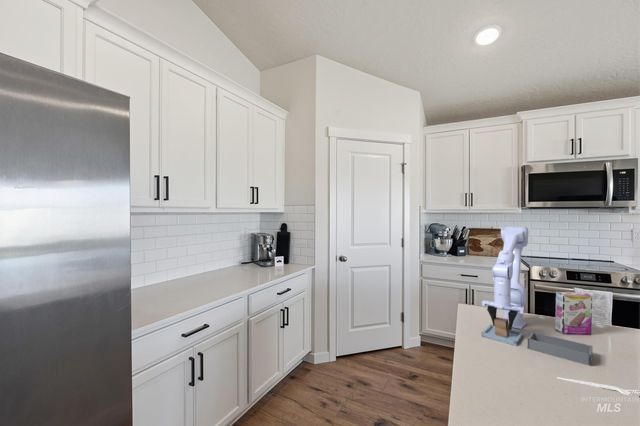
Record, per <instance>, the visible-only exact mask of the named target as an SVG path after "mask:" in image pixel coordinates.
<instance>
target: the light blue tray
mask: <svg viewBox="0 0 640 426" xmlns="http://www.w3.org/2000/svg"><path fill="white" fill-rule="evenodd" d="M481 337H484V338H486V339H490V340H494V341H497V342H501V343H505V344H509V345H512V346H515V347H517V346H518V345H519V343H520V341H521V340H522V339H523V337H524V332H522V331H519V330H514V329H511V330H509V335H508V336H507V337H504V336H499V335H495V326H493V324H489V325H488V326H487V327H486V328H484V329H483V330H482V332H481Z"/></svg>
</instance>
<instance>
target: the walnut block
mask: <svg viewBox="0 0 640 426" xmlns="http://www.w3.org/2000/svg"><path fill="white" fill-rule="evenodd" d="M494 324H495V335H499V336H504V337H507V336H508V335H509V328H508V327H509V325H508V319H504V318H503V317H497V316H496V319H495V320H494Z"/></svg>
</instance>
